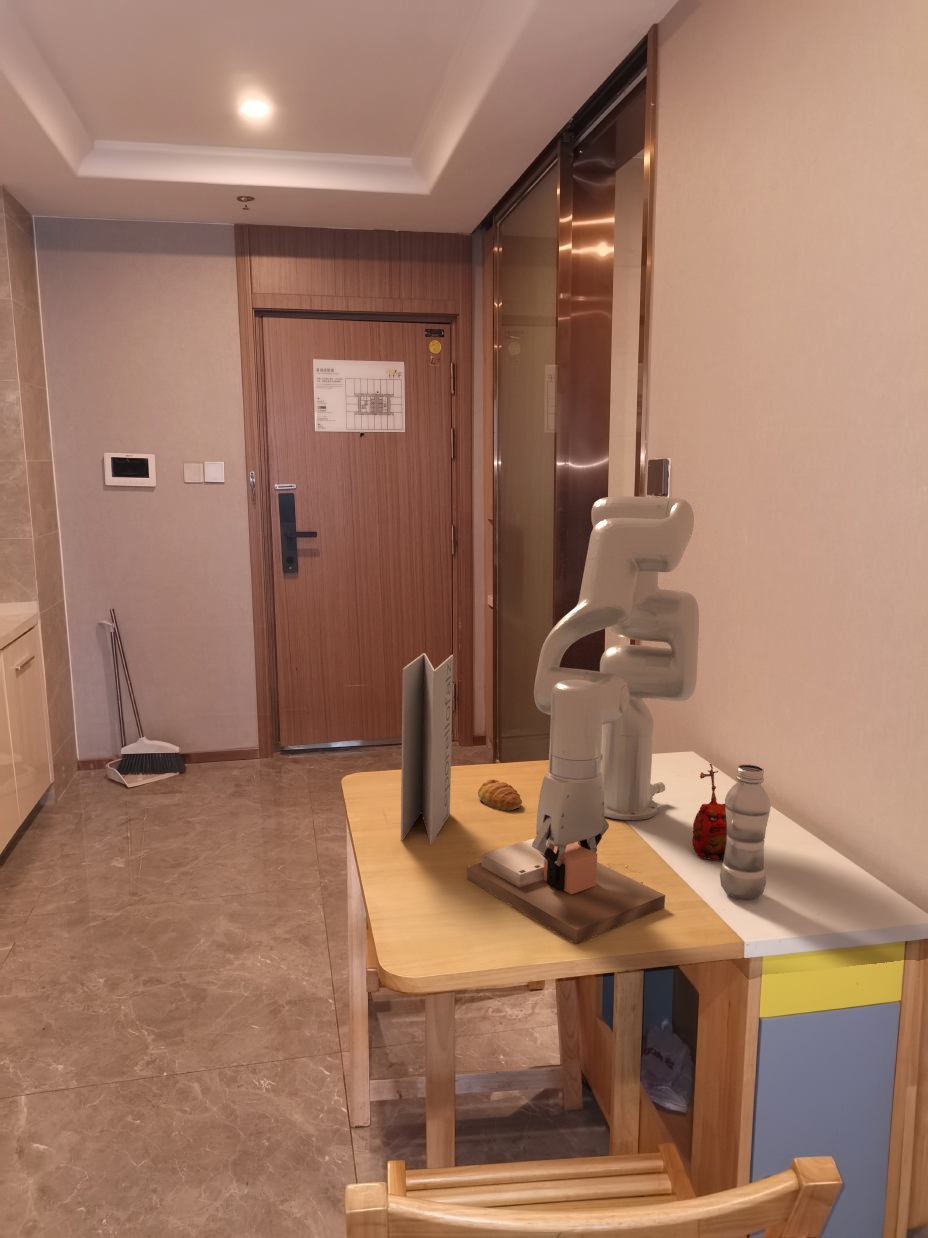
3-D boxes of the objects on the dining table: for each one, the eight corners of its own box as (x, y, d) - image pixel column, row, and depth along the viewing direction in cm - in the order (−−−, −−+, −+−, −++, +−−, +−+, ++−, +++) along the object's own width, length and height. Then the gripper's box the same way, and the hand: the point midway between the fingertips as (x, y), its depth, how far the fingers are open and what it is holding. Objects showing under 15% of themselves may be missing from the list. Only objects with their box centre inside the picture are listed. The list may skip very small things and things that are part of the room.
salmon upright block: (567, 871, 138) (568, 840, 137) (595, 885, 133) (597, 853, 133) (543, 879, 135) (544, 848, 134) (571, 894, 130) (572, 862, 130)
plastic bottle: (758, 909, 132) (768, 778, 129) (712, 897, 136) (721, 769, 132) (769, 892, 137) (779, 766, 134) (725, 881, 141) (734, 758, 138)
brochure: (431, 843, 153) (435, 671, 148) (400, 840, 154) (402, 668, 149) (449, 813, 167) (453, 654, 162) (421, 811, 168) (423, 653, 163)
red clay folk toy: (700, 864, 147) (706, 776, 145) (683, 846, 154) (688, 762, 152) (744, 862, 148) (750, 774, 146) (725, 845, 155) (731, 761, 153)
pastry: (530, 808, 171) (531, 789, 170) (502, 815, 167) (502, 796, 167) (501, 794, 179) (501, 775, 178) (473, 800, 175) (473, 781, 174)
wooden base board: (552, 852, 150) (553, 829, 150) (664, 908, 132) (665, 881, 131) (467, 879, 140) (467, 854, 139) (576, 944, 121) (577, 915, 120)
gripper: (597, 749, 140) (591, 860, 142) (513, 768, 129) (509, 887, 132) (633, 761, 134) (627, 877, 137) (549, 783, 123) (544, 907, 126)
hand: (569, 881), depth 134 cm, fingers closed on salmon upright block, 5 cm apart
